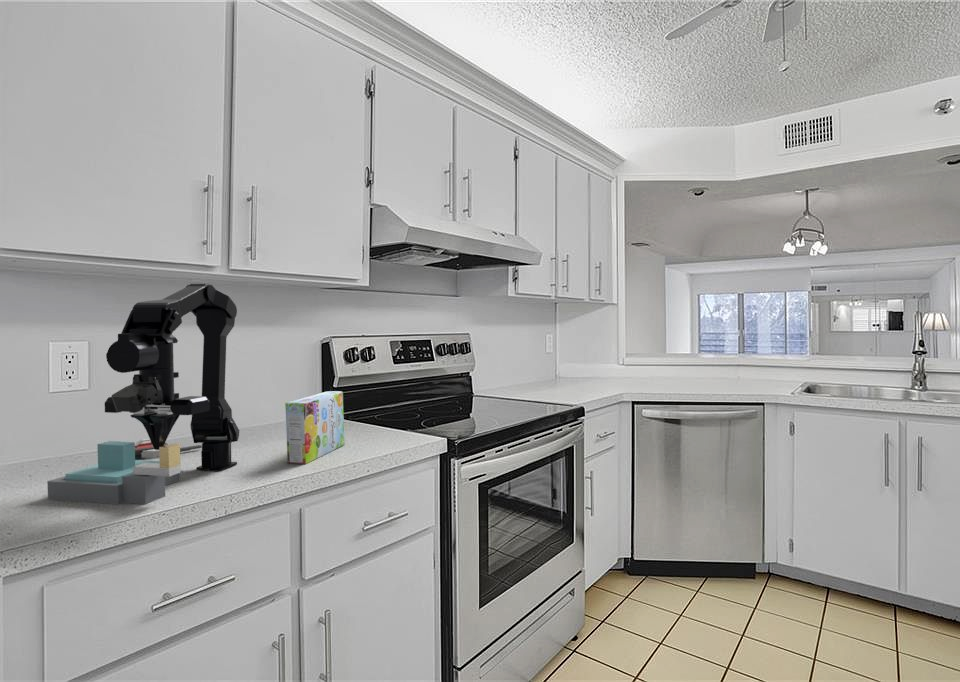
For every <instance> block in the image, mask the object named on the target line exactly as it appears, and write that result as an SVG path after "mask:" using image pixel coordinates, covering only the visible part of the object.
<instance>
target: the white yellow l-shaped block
mask: <svg viewBox="0 0 960 682" xmlns="http://www.w3.org/2000/svg"><path fill="white" fill-rule="evenodd" d="M167 444H168V445H165V446H161V447H159V461H160V463H142V464H139V465H136V466H133V467H132V468H133V474H134V475H151V476H168V477H169V476H172V475H175V474H177V473H181V472H182V470H181V452H180V448H181V444H180V443H167Z"/></svg>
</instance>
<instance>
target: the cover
mask: <svg viewBox="0 0 960 682" xmlns="http://www.w3.org/2000/svg"><path fill="white" fill-rule="evenodd" d="M142 463H160V460H145V459H142V460H140V459H135V442H134V441H114V440H112V441H111V440H109V441H106V442H100V443H98V444H97V464H94V465H91V466H87V467H85V468H81V469H78V470H74V471H71V472H67V473H65V475H64V476H65V477H66V480H76V481H92V482H108V483H120V482H122V476H125V475H128V474H131V473H133V468H132V467H133V466H136V465H139V464H142Z"/></svg>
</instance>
